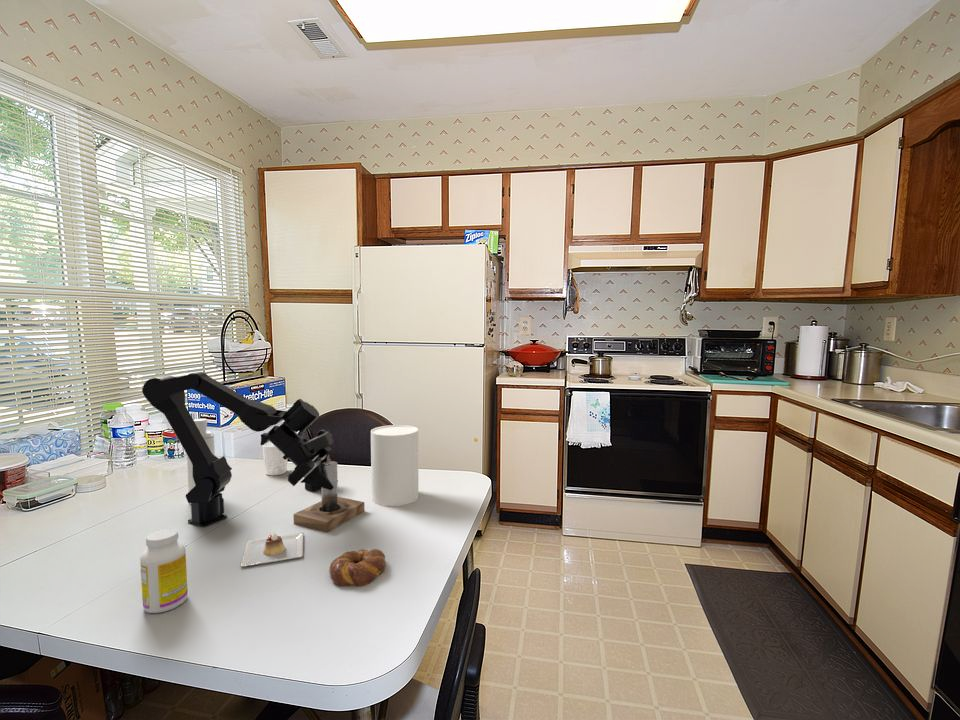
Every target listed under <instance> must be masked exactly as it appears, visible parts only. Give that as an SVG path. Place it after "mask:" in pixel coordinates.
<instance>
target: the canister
mask: <svg viewBox="0 0 960 720" xmlns="http://www.w3.org/2000/svg"><path fill="white" fill-rule="evenodd" d="M370 463H371V464H370V465H371V467H370V468H371V470H370V471H371V472H370V473H371V476H370V479H371V486H370V487H371V501H372V503H374V504H375V505H377V506H378V505H379V506H383V507H399V506H400V507H401V506H406V505H408V504H411V503H414V502H415V501H417V500H418V498H419V493H420V492H419V428H418V427H416V426H413V425H408V424H406V425H405V424H393V425H392V424H391V425H382V426H378V427H374V428H372V429H371V430H370Z"/></svg>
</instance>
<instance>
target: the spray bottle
mask: <svg viewBox="0 0 960 720" xmlns="http://www.w3.org/2000/svg"><path fill="white" fill-rule="evenodd" d="M193 420H194V422H195V424H196V426H197V428H198V429H199V431H200V433H201V435H202V436H203V438H204V440H205V442H206V444H207V445H208V447H209V449H210V451H211V453H212V454H213V455H214V456H216V454H215V435H214V434H213V433H212V432H211V431H209V430H208V431H207V426H208V419H207V418H197V419H193ZM186 466H187V488H188V492H189V491H190V490H191V489H193V488H194V487H195V486H196V485H195V482H194V479H193V466H192V463H191V461H190V459H189V457H188V455H187V454H186ZM188 492H187V493H188ZM189 505H191V503H189Z"/></svg>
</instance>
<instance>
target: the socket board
mask: <svg viewBox="0 0 960 720" xmlns="http://www.w3.org/2000/svg"><path fill="white" fill-rule="evenodd" d="M365 508H366V507H365V501H361V500H355V499H351V498H346V497H341V496H338V510H337V511H333V512H322V500H320V501H319V502H316V503H314V504H312V505H310V506H308V507H306V508H304V509H302V510H299V511H297V512H295V513H293V514H292V515H293V524H294V525H298V526H302V527H306V528H309V529H313V530H317V531H321V532H324V533H328V532H330V531H332V530H333V529H335V528H336V527H338V526H340V525H343V524H344V523H346V522H348V521H350V520H351V519H353V518H355V517H357V516H358V515H361V514H362V513H363V512H365V511H366V510H365Z"/></svg>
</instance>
